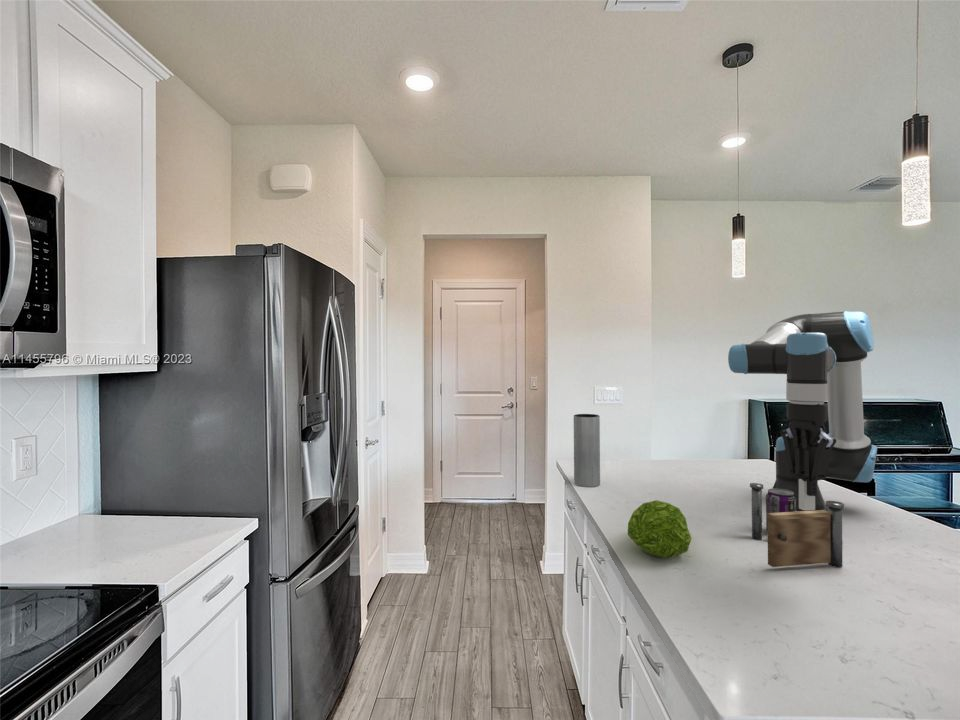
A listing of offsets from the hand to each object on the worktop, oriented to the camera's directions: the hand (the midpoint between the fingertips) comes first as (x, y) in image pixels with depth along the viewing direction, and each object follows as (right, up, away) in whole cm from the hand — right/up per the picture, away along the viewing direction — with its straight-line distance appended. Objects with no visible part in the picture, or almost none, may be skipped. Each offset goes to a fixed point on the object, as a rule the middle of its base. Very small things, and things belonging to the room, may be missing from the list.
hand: (806, 508), depth 107 cm
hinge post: (+12, -16, +8) cm, 22 cm away
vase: (-30, -16, +83) cm, 90 cm away
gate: (+3, -15, +6) cm, 17 cm away
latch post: (+3, -16, +25) cm, 30 cm away
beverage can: (+12, -16, +28) cm, 35 cm away
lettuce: (-25, -17, +21) cm, 36 cm away
